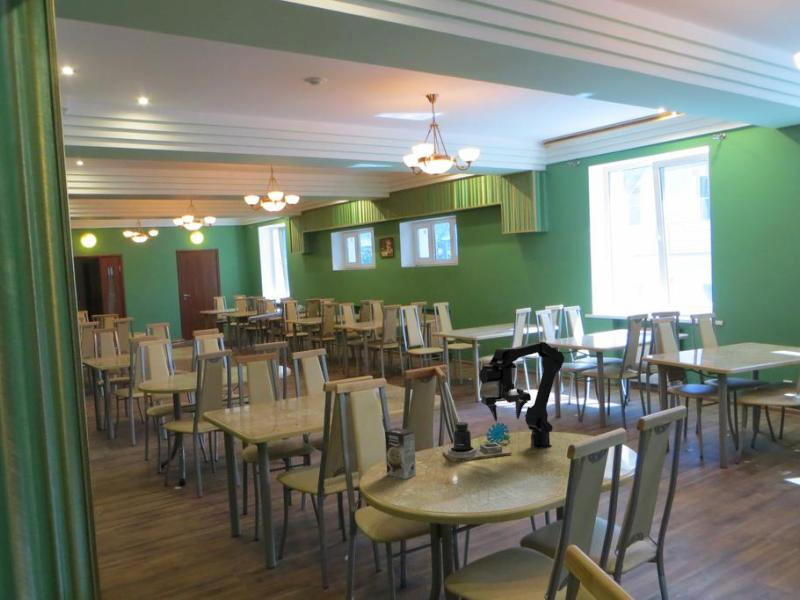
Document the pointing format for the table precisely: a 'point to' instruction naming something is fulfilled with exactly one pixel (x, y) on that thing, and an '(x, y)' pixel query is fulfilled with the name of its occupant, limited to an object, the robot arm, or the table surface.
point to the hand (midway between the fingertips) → (506, 420)
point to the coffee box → (400, 453)
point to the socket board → (477, 452)
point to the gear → (498, 433)
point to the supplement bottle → (461, 437)
